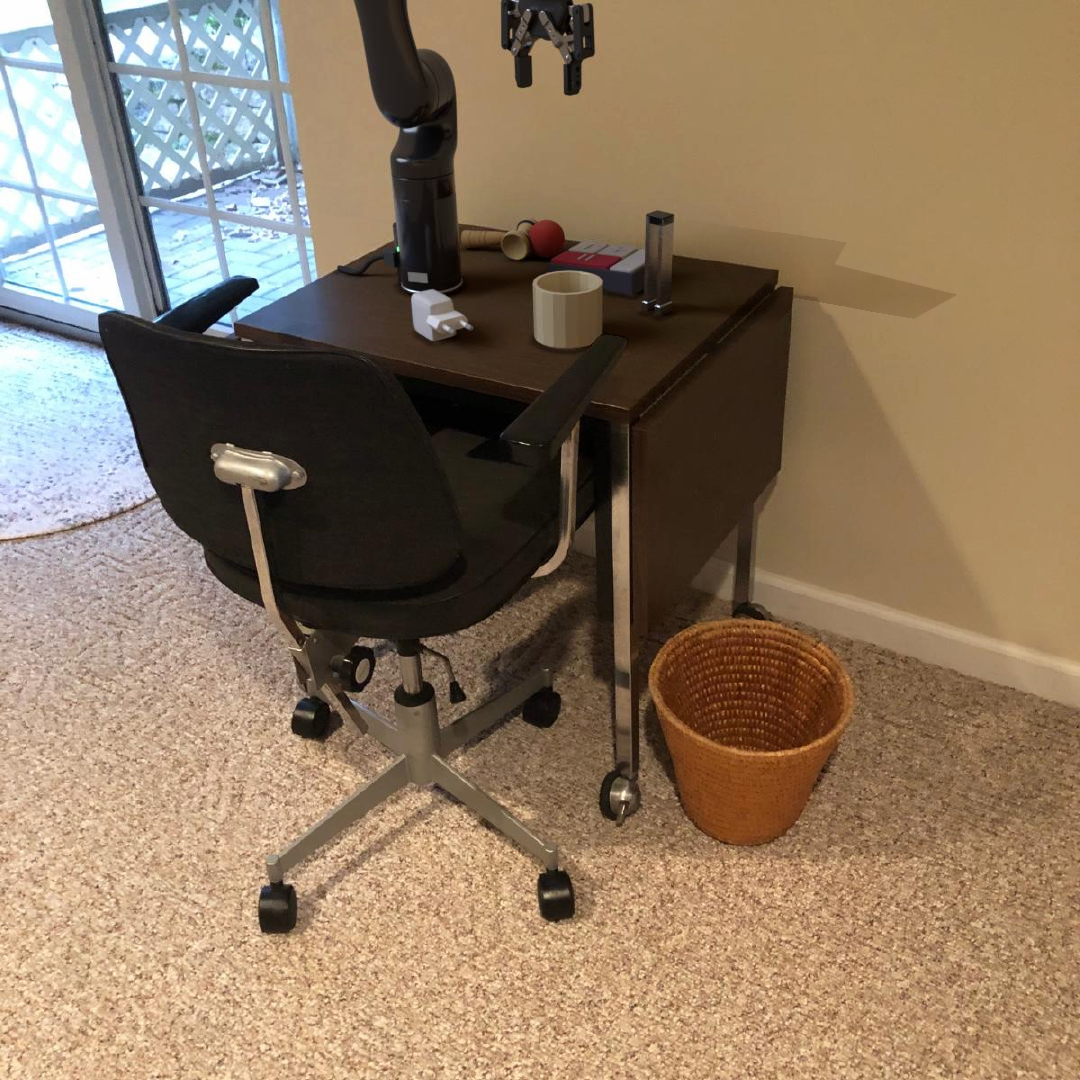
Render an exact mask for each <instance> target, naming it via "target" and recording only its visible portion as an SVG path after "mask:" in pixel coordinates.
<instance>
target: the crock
mask: <svg viewBox="0 0 1080 1080" xmlns="http://www.w3.org/2000/svg"><path fill="white" fill-rule="evenodd" d="M603 292H604V289H603V280H602V279H601V278H600V277H599V276H597V275H595V274H592V273H588V272H583V271H571V270H569V271H556V272H550V273H548V272H546V273H544V274H541V275H539V276H537V277H536V278H534V279H533V281H532V310H533V311H532V313H533V336H534V339H535V340H536V341H537V342H538V343H539V344H541V345H543V346H547V347H550V348H555V349H579V348H584V347H589V346H591V344H592V343H593V342H594V341H595V339H596V338H597V337H598V336H600V335H601V334H602V335H603V318H604V317H603V316H604V315H603V313H604V311H603V307H604V304H603V303H604V302H603V301H604V300H603V299H604V296H603V295H604V293H603ZM592 345H593V344H592Z"/></svg>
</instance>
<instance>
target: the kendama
mask: <svg viewBox="0 0 1080 1080" xmlns="http://www.w3.org/2000/svg"><path fill="white" fill-rule="evenodd" d="M460 242H461V246H462V247H463V248H464V249H473V248H483V247H494V246H501V250H502V252H503V253H504V254H505V256H506V257H508V258H509V259H510V260H514V261H522V260H524V259H525V258H526V257H528V255H529V254H530V252H531V251H532V253H533V254H535V255H536V256H538V257H539V258H543V259H552V258H554V257H556V256H558V255H560V254H561V253H563V250H564V248H565V243H566V234H565V231H564V229H563V227H562V226H561V225H560V224H559V223H558V222H556V221H554V220H551V219H543V220H539V221H538V220H537V219H535V218H533V217H524V218H522V219H521V220H520V221H519V222H518V223H517V225H516V230H515V229H512V230H509V231H508V232H504V231H493V230H489V231H488V230H469V229H464V230H462V232H461V234H460Z"/></svg>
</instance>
